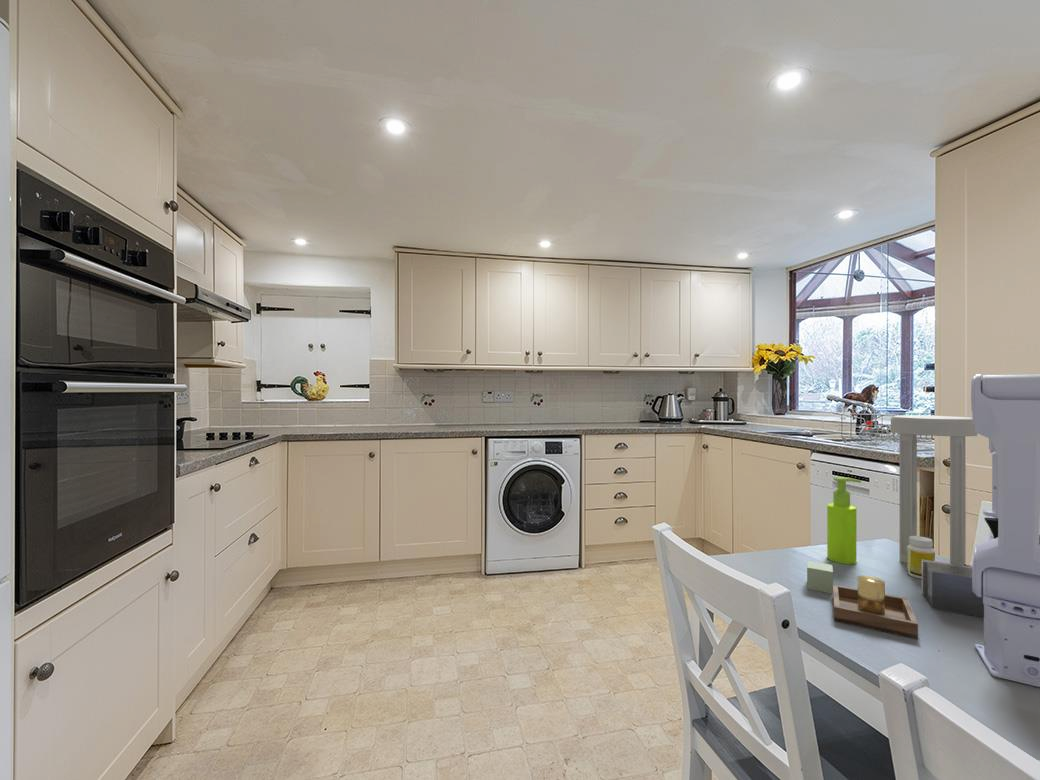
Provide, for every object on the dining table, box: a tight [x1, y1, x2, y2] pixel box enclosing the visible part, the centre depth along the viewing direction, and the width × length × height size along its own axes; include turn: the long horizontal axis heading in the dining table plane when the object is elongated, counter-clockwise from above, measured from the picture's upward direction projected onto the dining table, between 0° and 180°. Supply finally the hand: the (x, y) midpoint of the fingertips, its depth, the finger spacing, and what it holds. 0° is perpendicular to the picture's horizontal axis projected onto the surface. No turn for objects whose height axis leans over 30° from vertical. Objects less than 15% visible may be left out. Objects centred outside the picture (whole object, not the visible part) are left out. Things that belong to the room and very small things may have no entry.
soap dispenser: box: [826, 476, 862, 565], centre depth 115 cm, size 6×7×20 cm
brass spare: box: [857, 575, 886, 616], centre depth 86 cm, size 4×4×6 cm
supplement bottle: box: [906, 535, 936, 580], centre depth 105 cm, size 5×5×8 cm
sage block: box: [806, 560, 834, 594], centre depth 99 cm, size 4×4×4 cm
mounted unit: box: [921, 560, 984, 619], centre depth 90 cm, size 8×9×7 cm
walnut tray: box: [832, 584, 919, 640], centre depth 86 cm, size 12×12×2 cm
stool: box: [890, 414, 978, 566], centre depth 114 cm, size 16×16×35 cm
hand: (1014, 565), depth 85 cm, fingers open, 7 cm apart
